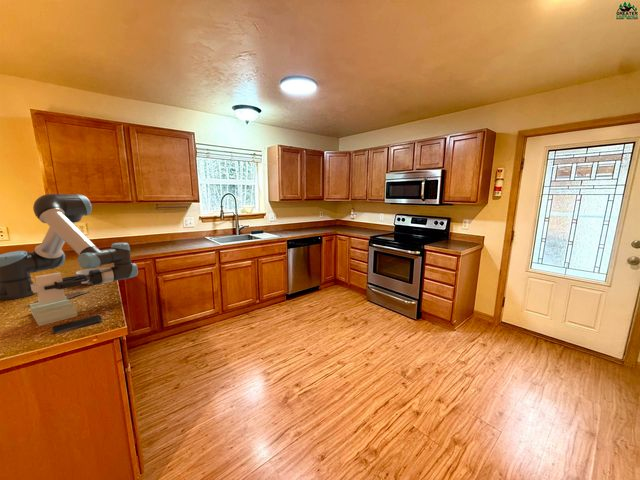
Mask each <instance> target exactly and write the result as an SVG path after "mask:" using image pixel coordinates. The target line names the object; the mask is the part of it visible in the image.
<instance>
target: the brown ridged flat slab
mask: <svg viewBox="0 0 640 480" xmlns="http://www.w3.org/2000/svg"><path fill="white" fill-rule="evenodd" d="M86 293H91V291H89V290H78V291H74V292H70V293H66V294H65V297H67V300H70V299H73V298H76V297H77V296H81V295H83V294H86ZM34 303H39V301H38V300H36V301H34V302H32V303H31V304H34ZM28 307H29V308H30V304H27V305H25V306H22V307H21V309H24V308H28Z"/></svg>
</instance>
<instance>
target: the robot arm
mask: <svg viewBox="0 0 640 480" xmlns="http://www.w3.org/2000/svg"><path fill="white" fill-rule="evenodd" d="M32 209H33V213H34V215H35V217H36V218H37V219H38V220H39V221H40V222H41V223H42V224H46V225H48V226H49V227H48V229H47V232H46V234H45V236H44V237H43V239H42V242H41V244H38V245H36V246H35V248H34V249H33V250H32V251H29V252H27V251H26V250H16V251H10V252H5V253H1V254H0V301H10V300H15V299H23V298H25V297H29V296H33V295H35V294H37V292H42V291H47V290H52V289H59V290H60V289H64V290H65V289H68V288H69V289H70V288H74V287H75V288H76V287H79V286H87V285H89V284H88V283H89V282H90V283H91V284H90V285H92V286H97V285H101V284H102V283H103V284H106V283H107V284H110V282H115V281H121V280H128V279H131V278H135V277H137V276H138V274H139V269H138V265H137V264H136V263H135V262H134V263H132V256H131V247H130V244H129V243H128V242H115V243H112V244H111V245H110V246H111V247H110V248H106V249H105V248H104V249H99V247H97V245H96V244H94V243H93V242H92V241H91V240H90V239H89V238H88V237H87V236H86V235H85V234H84V233H83V232H82V231H81V229H79V227H77V226H76V225H75V224H76V223H79V222H80V221H81V220H82V219H83V217H84V216H88V215H91V213H92V210H93V207H92V203H91V201H90V199H89V198H88V197H87V196H86V195H83V194H77V193H72V194H70V193H69V194H68V193H67V194H66V193H65V194H64V193H47V194H43V195H40V196H39V197H38V198H36V200H35V201H34V203H33V207H32ZM65 243H66V244H67V245H68V247H70V248H71V249H72V250H73V251H74V252H75V253H76V254H77V255H78V257H77V262H78V265H79V266H80V267H81V268H83V269H84V270H85V269H91V268H99V267H101V266H106V265H110V264H112V265H113V266H109V267H102V268H100V270H99V269H96V270H90V271H89V275H76V274H75V275H72V276H65V277H62V280H63V282H59V283H57V282H54V283H50V284H45V285H39V286H36V283H35V282H34V281H33V280H32V277H31V274H33V273H34V274H35V273H39V272H43V271H49V270H54V269H57V268H60V267H61V266H63V264H65V261H66V254H65V251H63V246H64V245H65ZM54 284H55V285H54Z"/></svg>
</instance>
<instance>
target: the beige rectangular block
mask: <svg viewBox="0 0 640 480" xmlns="http://www.w3.org/2000/svg"><path fill="white" fill-rule="evenodd" d="M62 278H63V275H62V272H60V271H59V272H51V273H48V274H41V275H36V276H35V275H34V277H33V279H34V284H36V286H39V285H45V284H50V283H54V282H57V283H59V282H63V280H62ZM54 285H55V284H54ZM36 294H37V301H39V303H40V304H44V303H48V302H53V301H57V300H62V299H65V289H60V290H59V289H52V290H47V291H42V292H37V293H36Z"/></svg>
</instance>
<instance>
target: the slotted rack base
mask: <svg viewBox="0 0 640 480" xmlns="http://www.w3.org/2000/svg"><path fill="white" fill-rule="evenodd" d="M33 303H34V302H33ZM29 305H30V306H29V308H30V313H31V315H32V317H33V318H34V320H35V322H36V323H37V325H38V327H41V326H45V325H49V324H52V323H56V322H57V323H58V322H60V320H61V321H63V320H68V319H71V318H74V317H75V318H77V317H78V311H77V306H76V305H74V304H73V302H71V301H70V299H67V297H65V299H62V300H57V301H53V302H48V303H44V304H40V303H34V304H32V303H29Z"/></svg>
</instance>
